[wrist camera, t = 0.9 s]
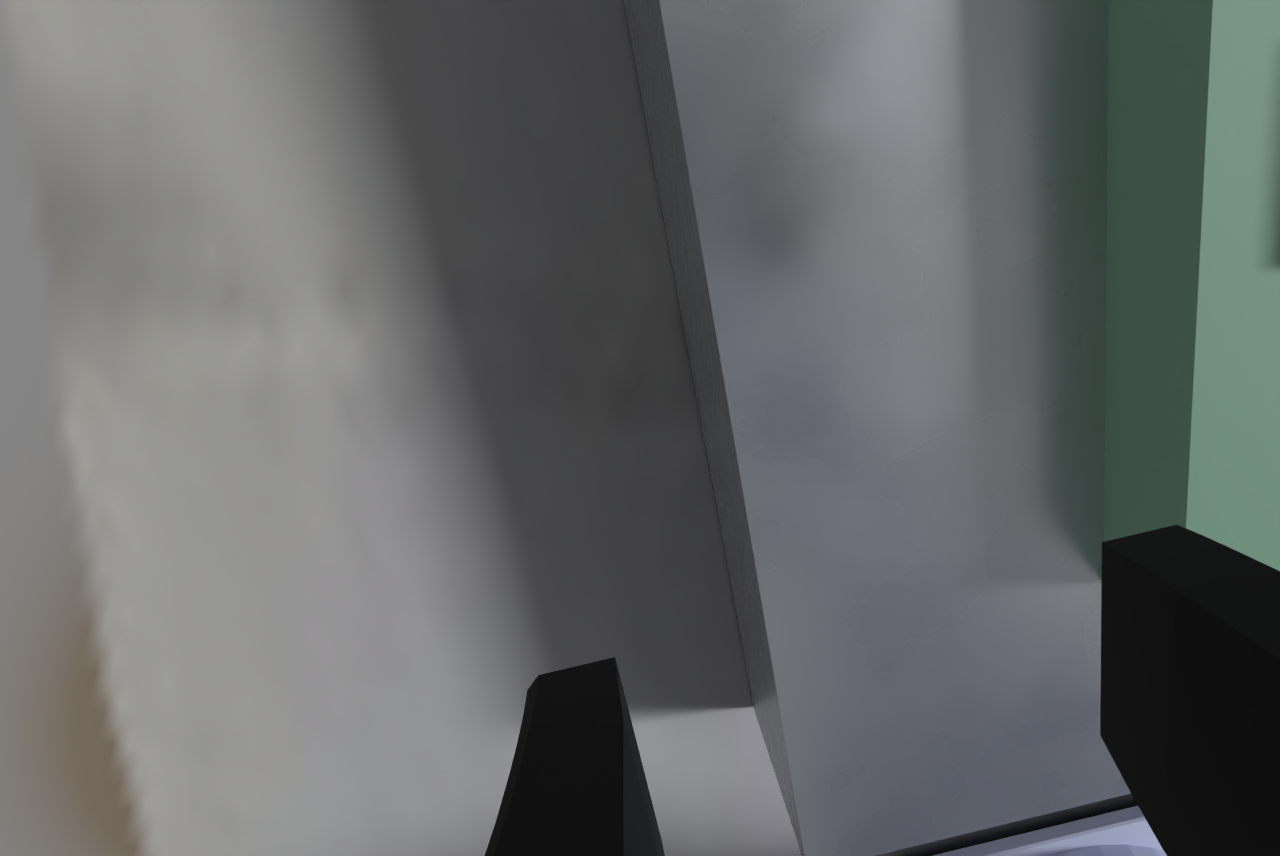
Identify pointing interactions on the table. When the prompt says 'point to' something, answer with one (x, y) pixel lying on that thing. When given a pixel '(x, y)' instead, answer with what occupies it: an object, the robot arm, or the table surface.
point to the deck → (899, 389)
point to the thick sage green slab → (1193, 272)
